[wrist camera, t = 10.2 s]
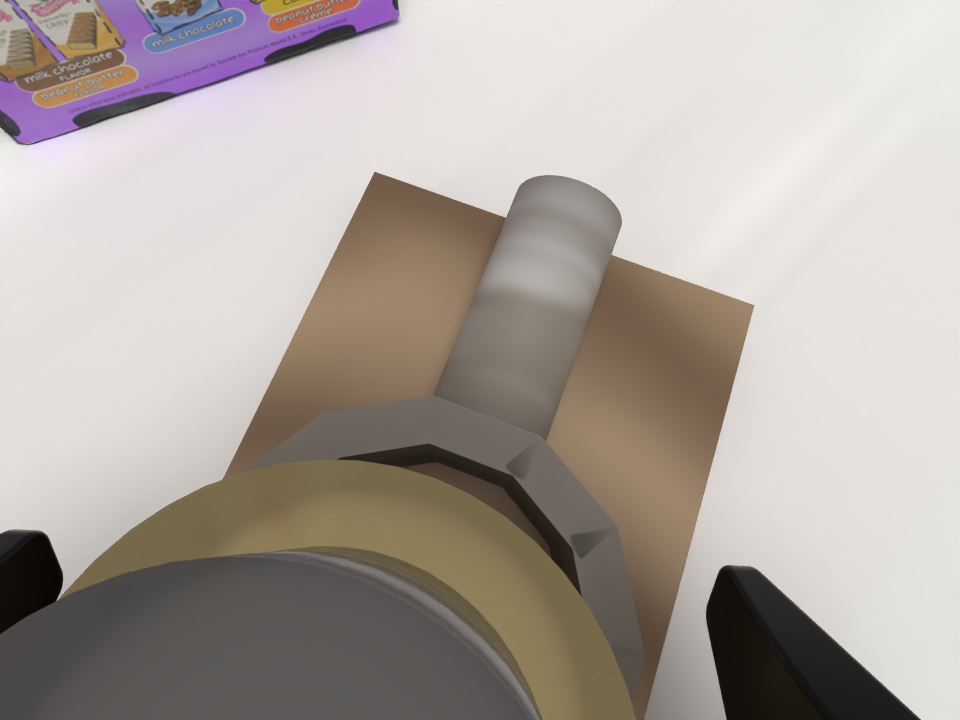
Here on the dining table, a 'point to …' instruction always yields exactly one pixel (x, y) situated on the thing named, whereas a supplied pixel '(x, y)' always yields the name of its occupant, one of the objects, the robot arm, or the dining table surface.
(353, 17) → the candy box
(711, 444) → the fitting board
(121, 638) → the gold two-tone capped cylinder
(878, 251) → the dining table surface
